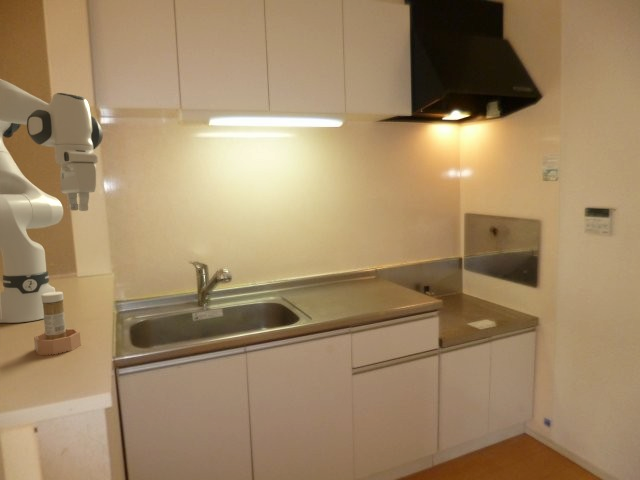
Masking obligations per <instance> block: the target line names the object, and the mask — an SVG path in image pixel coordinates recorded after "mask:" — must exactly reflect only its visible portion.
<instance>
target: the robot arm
mask: <svg viewBox="0 0 640 480" xmlns="http://www.w3.org/2000/svg"><path fill="white" fill-rule="evenodd" d="M90 109H91V108H90V105H89V102H88V101H87V99H86V98H85V97H82V96H80V95H74V94H70V93H64V92H57V93H54V94H53V95H52V98H51V101H50V102H49V103H48V102H46V101H44V100H43V99H41V98H39V97H37V96H36V95H33V94H31V93H29V92H28V91H26V90H23V89H22V88H20V87H18V86H17V85H15V84H12V83H11V82H9V81H7V80H4V79H2V78H0V253H1V258H2V259H1V260H2V267H3V275H2V279H1V280H2V287H3V290H2V292H0V323H5V324H6V323H8V324H12V323H13V324H15V323H24V322H25V323H26V322H32V321H34V322H35V321H38V320H44V310H43V302H42V297H41V296H42V294H44V293H49V292H56V289H55V287H53V286H52V285H50V283H49V282H50V274H49V271H47V262H46V251H45V248H44V247H43V245H42V244H40V243H39V242H36V241H35V240H32V239H31V238H30V237H29V235H28V232H27V230H30V229H31V230H32V229H44V228H47V227H51V226H54V225H57V224H59V223H60V222H61V221H62V219H63V217H64V207H63V205H62V202H61V201H60V200H59V199H58V198H57V197H55V196H53V195H50V194H48V193H46V192H44V191H43V190H41V189H40V188H39V187H37V186H36V185H34V184H33V183H32V182H31V181H30V180H29V179H28V178H26V176H25V175H24V174H23V173H22V171H21V170H20V168H19V166H18V165H17V164H16V162H15V160H14V159H13V157H12V155H11V152H9V150H8V149H7V147H6V145H5V143H4V141H3V140H4V139H3V137H4V138H6V139H7V138H8V139H9V138H12V137H13V135H14V133H16V132H17V131H18V130H19V129H20V128H21V126H22V125H26V130H27V133H28V135H29V137H30V139H31V140H32V141H33V142H34V143H35V144H37V145H40V146H43V147H48V148H54V157H55V164H56V165H60V172H59V173H60V174H59V175H60V190H61V193H62V194H66V197H67V201H68V204H69V205H68V206H69V211H78V210H79V211H80V212H87V211H88V210H89V201H90V200H89V199H90V193H94V192H96V188H97V165H96V164H97V163H98V162H99V157H98V154H97V153H95V151H94V150H96V149H97V148H98V147H99V145H100V144H102V142H103V138H104V137H103V136H104V133H103V129H102V126H101V124H100V123H99V122H98V121H97V119H96V118H95V117H93V116H92V115H91V114H92V113H91V110H90ZM77 198H78V199H77Z"/></svg>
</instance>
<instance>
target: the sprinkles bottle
mask: <svg viewBox="0 0 640 480" xmlns="http://www.w3.org/2000/svg"><path fill="white" fill-rule="evenodd" d="M41 297H42V302H43V310H44V318H43V322H44V332H45V334H46V340H54V339H59V338H64V337H66V329H67V328H66V320H65V319H66V318H65V317H66V316H65V310H64V309H65V308H64V293H63V291H55V292H49V293H44V294H42V296H41Z"/></svg>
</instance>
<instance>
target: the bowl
mask: <svg viewBox="0 0 640 480" xmlns="http://www.w3.org/2000/svg"><path fill="white" fill-rule="evenodd" d="M65 329H66V337H64V338H59V339H54V340H46V334H45V331H44V332H41V333H40V334H39V333H38V334H37V335H35V336H34V337H33V339H34V350H35V352H36V354H37V355H38V356H39V355H41V356H42V355H45V356H49V355H50V356H53V354H55V355H58V353H59V354H62V352H63V353H67V352H66V351H68V352H72V351H73V349H74V350H75V349H77V348H78V347H80V346H81V345H82V344H81V343H82V342H81V331H80V330H78V329H77V328H65ZM48 354H49V355H48ZM51 354H52V355H51Z"/></svg>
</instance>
